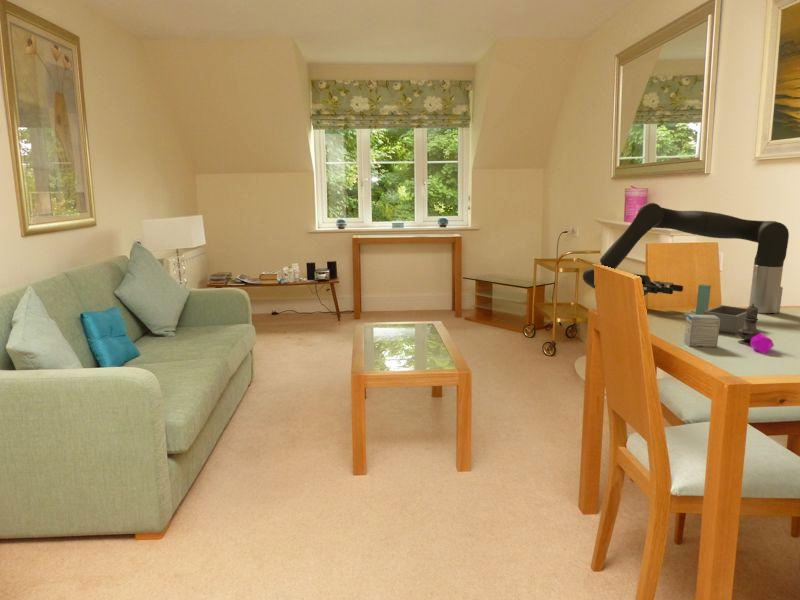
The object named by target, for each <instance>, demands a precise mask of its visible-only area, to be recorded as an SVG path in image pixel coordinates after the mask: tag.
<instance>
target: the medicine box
mask: <svg viewBox="0 0 800 600" xmlns="http://www.w3.org/2000/svg"><path fill="white" fill-rule="evenodd" d="M685 317H686V318H685V328H684V339H683V343H684V342H685V343H686V344H687V345H686V344H685V343H684V344H685V345H686V346H688V345H689V346H688V347H698V346H703V347H705V348H717V347H718V342H719V341H718V340H719V334H720V333H719V326H720V319H719V318H718V317H716V316H714V315H687V316H685ZM703 347H702V348H703Z"/></svg>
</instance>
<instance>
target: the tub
mask: <svg viewBox="0 0 800 600" xmlns="http://www.w3.org/2000/svg"><path fill="white" fill-rule="evenodd" d="M708 309H709V310H706V311H704V313H703V315H714V316H716V317H718V318H719V319H720V326H719V334H724V335H730V336H737V335H739V331H738V330H739V329H743V327H744V325H745V319H744V318H745V317H746V311H747V308H745V307H738V306H737V307H736V306H730V305H724V304H723V305H718V306H716V307H713V308H708Z"/></svg>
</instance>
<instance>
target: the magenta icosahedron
mask: <svg viewBox="0 0 800 600" xmlns="http://www.w3.org/2000/svg"><path fill="white" fill-rule="evenodd" d="M750 344H751V345H750V346H751V348H752V349H754V350H755V351H758V352H759V353H761V354H763V355H764V354H766V353H767V352H768V351H770V350H771V349H772V348H773V347H774V346H775V345H774V342H773V339H771V338H769V337H768V336H767V335H765V334H763V333H762V332H761V333H759V334H758V335H756V336H754V337H752V339H751V342H750Z"/></svg>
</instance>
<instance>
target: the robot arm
mask: <svg viewBox="0 0 800 600" xmlns="http://www.w3.org/2000/svg"><path fill="white" fill-rule="evenodd" d="M652 229H667V230H674V231H678V232H683V233H685V234H686V233H687V234H690V235H695V236H700V237H707V238H713V239H730V240H731V239H732V240H733V239H735V240H736V239H737V240H739V239H740V240H745V241H749V242H754V243H757V250H756V254H755V257H754V262H753V271H752V278H751V279H752V280H751V286H750V287H751V288H750V294H749V300H748V301H749V302H748V303H749V304H748V307H750V306H752V304H754V306H755V307H756V308H757V309H758V314H766V313H774V314H777V312H781V305H782V299H783V298H782V297H783V286H781V285H782V277H783V270H784V262H785V259H786V257H787V251H788V244H789V240H790V239H789V238H790V233H789V232H790V231H789V229H788V227H787V226H786V225H785V224H784V223H782V222H780V221H779V222H778V221H775V220H752V219H743V218H739V217H737V216H736V217H735V216H732V215H729V214H724V213H720V212H712V211H704V210H675V209H670V208H667V207H662V206H661V205H659V204H658V203H656V202H648V203H645V204H643V205H642V206H641V207H639V209H638V211H637V214H636V215H635V216H634V218H633V221H632V222H631V223H630V225H628V227H627V228H626V229H625V231H624V232H623V233H622V234H621V235H620V236H619V237H618V238H617V239H616V240H615V242H613V243H612V245H611V246H610V247H609V248H608V249H607V250H606V251H605V253H604V254H602V256H601V258H600V259H599V262H600V265H604V266H608V267H611V268H614V269H615V270H616V269H617V268H618V267H619V265H620V264H621V263H623V261H624V260H625V259H626V257H627V256H628V255H629V253H631V251H632V249H634V247H635V246H636V244H637V243H638V242H639V241H640V240H641V239H642V238H643V236H644V235H646V234H647V233H648V232H649V231H650V230H652ZM593 268H594V267H590V268H587V269H585V270H584V272H583V273H582V280H583V281H584V283H585V284H586V285H588V286H590V288H592V289H595V285H594V270H593ZM633 274H634V275H637V276H640V277H641V278H642V284H643V290H644V295H643V296H647V295H648V293H650V294H665V295H666V294H667V295H673V293H674V292H680V293H682V292H684V286H683V285H679V284H674V282H667V281H659V280H653V281H651V277H650V276H648V275H646V274H645V275H644V274H637V273H633ZM595 290H596V289H595Z"/></svg>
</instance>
